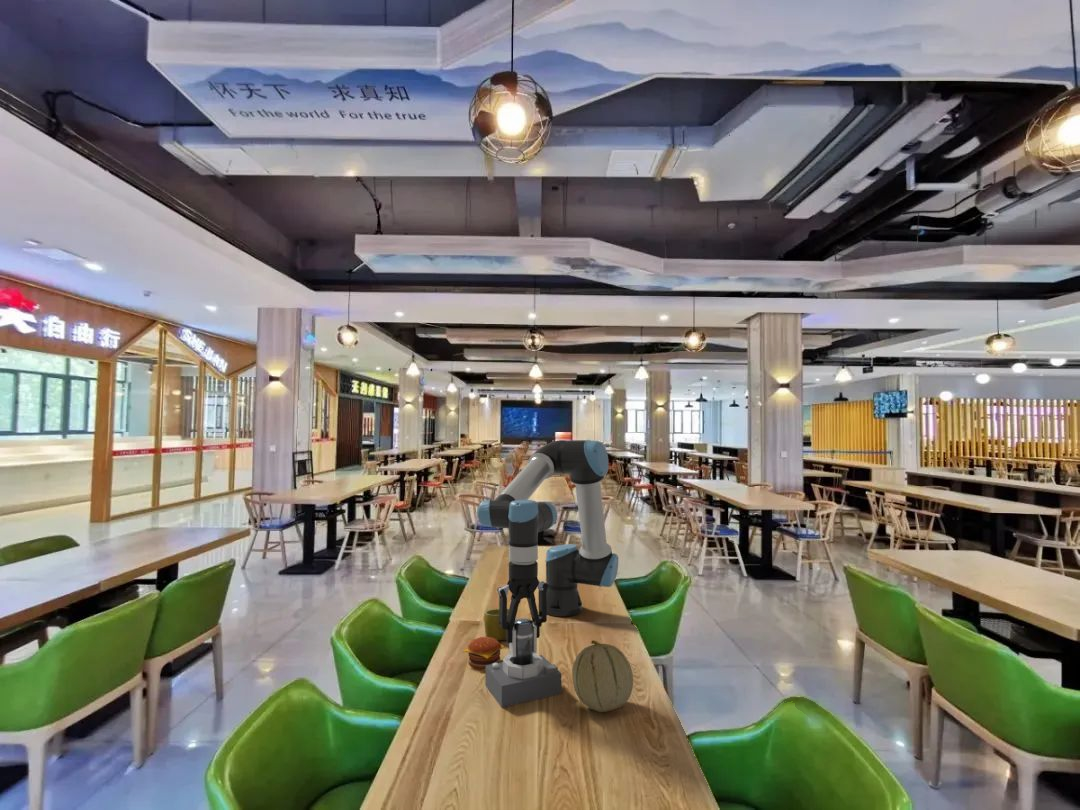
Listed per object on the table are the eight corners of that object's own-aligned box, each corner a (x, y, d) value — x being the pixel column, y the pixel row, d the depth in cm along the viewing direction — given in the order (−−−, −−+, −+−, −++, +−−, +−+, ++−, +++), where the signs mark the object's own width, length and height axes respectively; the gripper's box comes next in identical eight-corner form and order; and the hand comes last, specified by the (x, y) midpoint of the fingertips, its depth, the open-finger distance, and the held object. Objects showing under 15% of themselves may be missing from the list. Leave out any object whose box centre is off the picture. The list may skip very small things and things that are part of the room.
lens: (528, 656, 138) (528, 616, 139) (536, 664, 134) (536, 623, 134) (510, 659, 136) (510, 619, 137) (517, 667, 132) (517, 626, 132)
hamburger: (489, 673, 144) (489, 648, 144) (461, 665, 149) (461, 641, 149) (507, 659, 152) (507, 636, 153) (480, 653, 157) (480, 630, 157)
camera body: (541, 673, 143) (541, 645, 144) (561, 693, 133) (561, 663, 133) (485, 685, 137) (485, 655, 137) (501, 707, 126) (501, 675, 126)
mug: (513, 639, 162) (505, 606, 165) (483, 647, 164) (476, 614, 167) (524, 632, 173) (517, 601, 176) (496, 640, 175) (489, 609, 178)
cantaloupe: (618, 732, 116) (618, 662, 117) (560, 713, 124) (560, 647, 124) (643, 702, 128) (642, 639, 129) (589, 686, 136) (588, 627, 137)
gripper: (548, 554, 143) (548, 641, 142) (485, 561, 136) (484, 653, 135) (560, 560, 137) (561, 652, 136) (495, 568, 129) (494, 665, 128)
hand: (523, 652), depth 135 cm, fingers closed on lens, 5 cm apart
